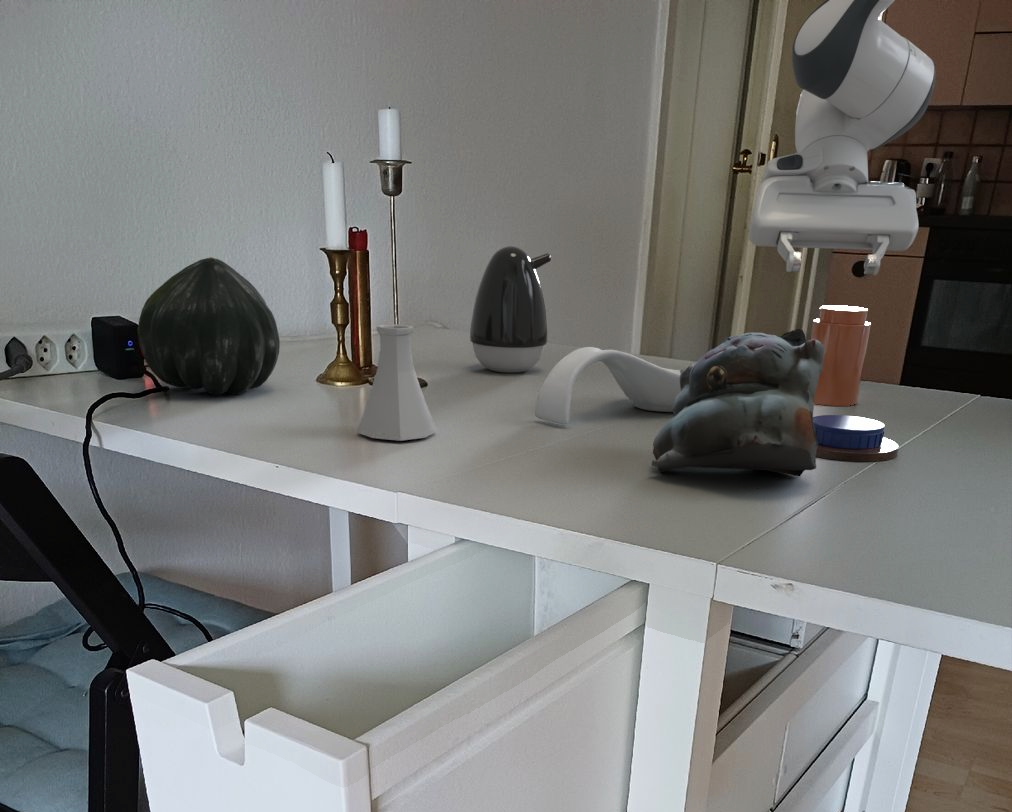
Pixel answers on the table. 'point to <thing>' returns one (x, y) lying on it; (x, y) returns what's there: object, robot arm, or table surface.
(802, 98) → the robot arm
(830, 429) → the jar lid
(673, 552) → the table surface
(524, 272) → the pump dispenser
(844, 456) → the coaster
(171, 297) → the squash
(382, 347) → the flask
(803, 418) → the lucky cat figurine
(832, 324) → the jar
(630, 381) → the spoon rest
